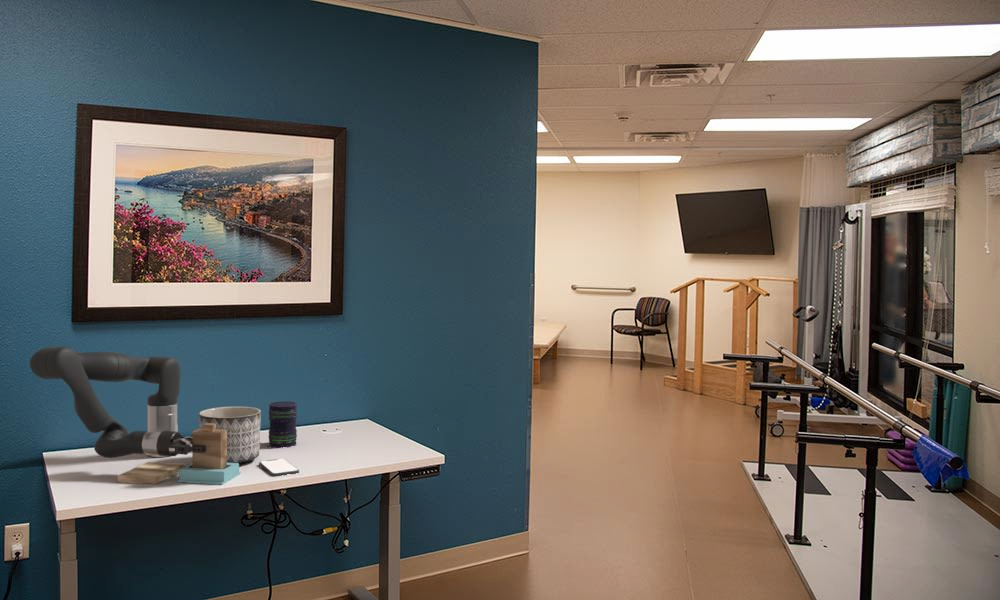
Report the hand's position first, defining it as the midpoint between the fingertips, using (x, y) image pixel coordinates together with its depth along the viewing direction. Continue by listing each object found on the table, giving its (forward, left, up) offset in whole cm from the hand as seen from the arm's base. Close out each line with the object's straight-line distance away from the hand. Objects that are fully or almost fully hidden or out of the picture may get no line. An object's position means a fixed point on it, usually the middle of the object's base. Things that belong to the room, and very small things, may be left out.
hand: (212, 445), depth 234 cm
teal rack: (0, -1, -10) cm, 10 cm away
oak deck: (+1, -19, -10) cm, 21 cm away
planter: (-20, -4, -10) cm, 23 cm away
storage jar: (-45, +4, -10) cm, 46 cm away
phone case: (-13, +16, -11) cm, 23 cm away
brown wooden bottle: (0, -1, -9) cm, 9 cm away
